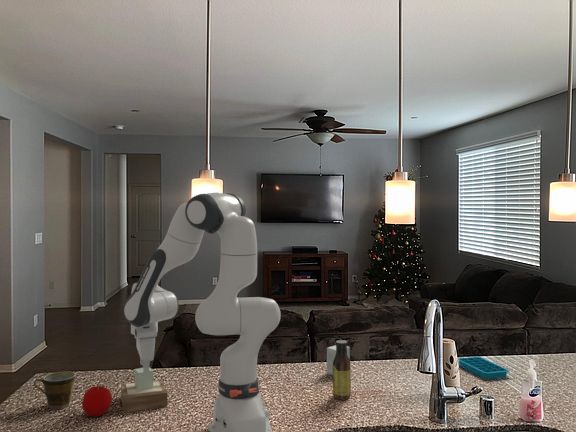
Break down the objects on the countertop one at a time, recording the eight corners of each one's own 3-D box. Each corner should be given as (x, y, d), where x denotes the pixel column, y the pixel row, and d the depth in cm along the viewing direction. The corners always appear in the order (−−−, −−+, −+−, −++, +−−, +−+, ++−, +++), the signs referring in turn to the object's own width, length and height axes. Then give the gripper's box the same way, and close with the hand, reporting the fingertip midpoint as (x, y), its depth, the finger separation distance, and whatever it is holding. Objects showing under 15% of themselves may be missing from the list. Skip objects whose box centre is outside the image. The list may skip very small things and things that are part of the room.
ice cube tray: (479, 363, 218) (479, 356, 218) (511, 378, 198) (511, 370, 198) (455, 365, 215) (455, 358, 215) (485, 381, 195) (485, 373, 195)
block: (153, 388, 172) (153, 370, 172) (138, 390, 169) (138, 373, 169) (149, 383, 176) (149, 366, 176) (134, 386, 174) (134, 369, 174)
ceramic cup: (79, 399, 175) (78, 370, 175) (71, 410, 165) (71, 380, 165) (38, 401, 173) (38, 372, 173) (29, 413, 163) (29, 382, 163)
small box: (339, 369, 208) (339, 343, 208) (350, 372, 204) (350, 346, 204) (326, 373, 203) (326, 347, 203) (336, 376, 199) (336, 350, 199)
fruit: (115, 415, 161) (114, 384, 161) (84, 422, 157) (84, 390, 156) (108, 406, 169) (108, 376, 169) (79, 412, 164) (79, 381, 164)
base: (167, 406, 169) (167, 391, 169) (123, 412, 164) (123, 397, 164) (161, 392, 182) (161, 378, 182) (120, 397, 177) (120, 383, 177)
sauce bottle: (336, 392, 182) (336, 337, 181) (353, 395, 179) (353, 339, 179) (329, 399, 176) (330, 342, 175) (346, 402, 173) (347, 344, 173)
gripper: (132, 322, 181) (132, 361, 181) (137, 334, 162) (137, 377, 162) (150, 321, 184) (150, 359, 183) (157, 332, 165) (157, 375, 164)
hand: (144, 368), depth 173 cm, fingers open, 8 cm apart
